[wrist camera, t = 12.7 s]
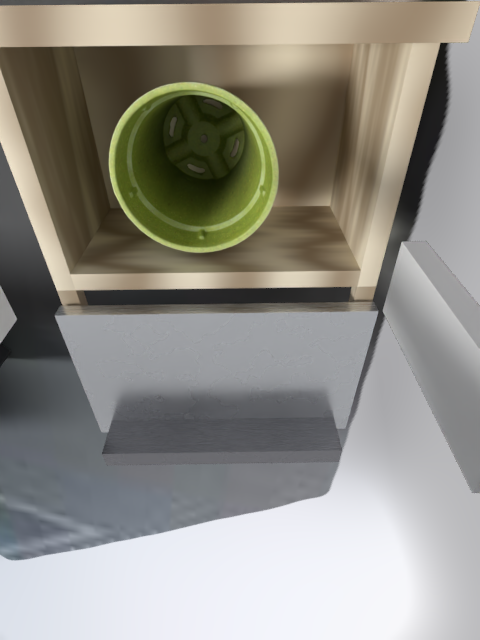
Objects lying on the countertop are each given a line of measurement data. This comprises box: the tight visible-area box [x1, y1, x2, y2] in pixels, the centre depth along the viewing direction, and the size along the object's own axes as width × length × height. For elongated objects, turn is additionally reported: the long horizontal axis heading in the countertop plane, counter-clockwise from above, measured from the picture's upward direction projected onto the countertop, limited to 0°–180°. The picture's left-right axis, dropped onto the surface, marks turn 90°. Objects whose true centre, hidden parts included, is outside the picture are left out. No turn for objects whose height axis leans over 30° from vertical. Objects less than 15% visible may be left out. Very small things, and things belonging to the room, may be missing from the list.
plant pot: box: [109, 82, 279, 253], centre depth 25 cm, size 9×9×9 cm
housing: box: [0, 1, 480, 306], centre depth 28 cm, size 20×28×13 cm
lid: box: [55, 302, 379, 465], centre depth 27 cm, size 20×12×4 cm, turn 90°
